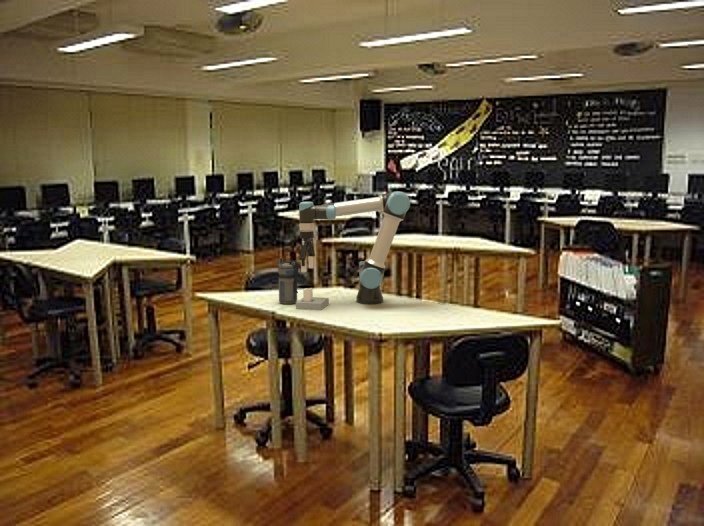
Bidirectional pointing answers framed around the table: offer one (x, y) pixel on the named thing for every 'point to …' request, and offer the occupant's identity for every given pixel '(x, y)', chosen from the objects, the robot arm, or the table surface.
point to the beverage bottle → (288, 281)
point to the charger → (308, 294)
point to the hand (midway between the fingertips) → (307, 270)
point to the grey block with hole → (313, 303)
